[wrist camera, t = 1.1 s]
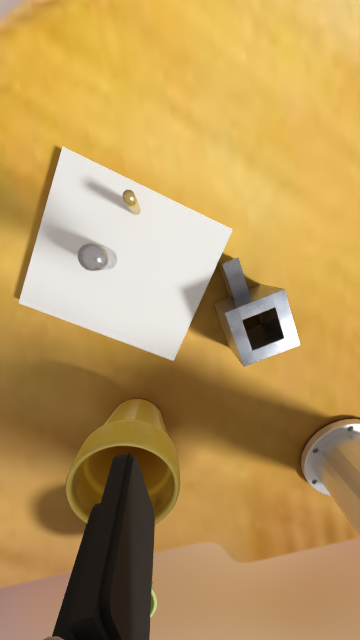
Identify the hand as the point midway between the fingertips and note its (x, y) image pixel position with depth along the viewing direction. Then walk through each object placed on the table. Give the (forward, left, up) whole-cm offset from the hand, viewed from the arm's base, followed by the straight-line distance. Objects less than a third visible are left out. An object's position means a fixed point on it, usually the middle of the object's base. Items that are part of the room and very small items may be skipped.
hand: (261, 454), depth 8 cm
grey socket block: (-4, -4, -19) cm, 20 cm away
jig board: (+10, -3, -19) cm, 22 cm away
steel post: (+12, -3, -18) cm, 22 cm away
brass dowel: (+11, -9, -18) cm, 23 cm away
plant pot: (+2, +15, -20) cm, 25 cm away
